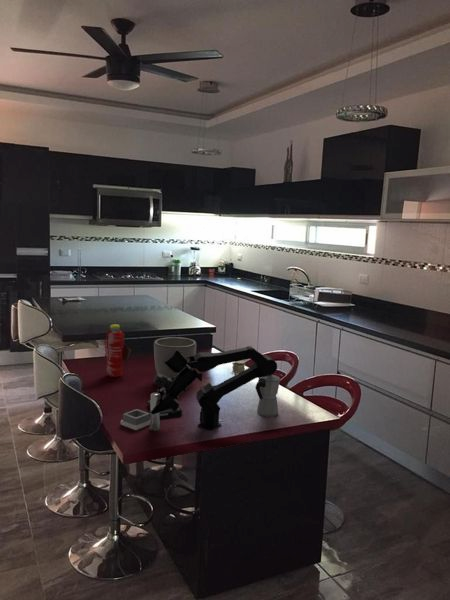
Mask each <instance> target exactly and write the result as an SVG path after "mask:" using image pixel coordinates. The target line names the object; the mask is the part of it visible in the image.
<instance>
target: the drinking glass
mask: <svg viewBox="0 0 450 600" xmlns="http://www.w3.org/2000/svg"><path fill="white" fill-rule="evenodd" d="M150 400H151V404H150V409H149V413H150V425H149V430H150V431H152V430H153V432H155V431H159V430H160V426H161V425H160V424H161V423H160V422H161V421H160V420H161V418H160V412H158V413H156V414H151V411H152V410H153V408H154V407H155V406H156V405H157V403H158V402H159V400H160V394H159V393H158V392H152V393H150Z"/></svg>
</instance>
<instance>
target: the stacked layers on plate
mask: <svg viewBox="0 0 450 600" xmlns="http://www.w3.org/2000/svg"><path fill="white" fill-rule="evenodd" d="M231 363H232V372H236V373H237V374H239V373H240V372H242V371H244V370H246V369H245V367H246V364H245V363H246V362H245V360H241V361H236V362H231Z"/></svg>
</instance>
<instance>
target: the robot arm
mask: <svg viewBox="0 0 450 600" xmlns="http://www.w3.org/2000/svg"><path fill="white" fill-rule="evenodd" d="M241 360H243V361H245V360H251V361H252V362H253V363H252V364H251V366H250V367H247V368H246V369H245V370H244V371H242V372H240V373H237V374H235V375H233V376H231V377H229V378H228V379H225V380H224V381H222V382H220V383H218V384H216V385H212V384H211V383H210V382H209V383H207V384H206V385H204V386H201V387H200V389H198V390H197V392H196V395H195V399H196V401H197V403H198V405H199V407H200V412H199V423H197V427H200V428H203V429H207V430H210V431H212V430H215V429H216V428H218V427H220V426H222V423H220V412H221V411H220V410H221V407H220V406H219V404H218V403H219V402H220V401H221V399H222V397H224V396H225V395H228V394H230V393H232V392H233V391H235V390H238V389H239V388H240V387H243V386H244V385H247V384H248V383H249V382H252V381H253V380H255V379H259V377H266V376H268V375H271V374H272V375H274V374H275V373H277V369H278V363H277V361H275V359H273V358H272V357H270V355H266V354H262V353H261V352H259V351H258V350H256V349H255V348H254V347H253V346H251V345H247V346H246V347H240V348H236V349H230V350H226V351H220V352H208V351H207V352H205V351H203V352H201V351H200V352H196V354H195V356H189V357H184V356H183V355H182V354H181V353H180V352H179V350H178V349H176V350H175V351H173V352H171V353H170V354H168V355H167V356H166V357H165V358H164V360H163V363H164V364H165V365H166V366H167V367H168V368H169V369H171V370H172V371H173V372H174V373H176V372H177V373H179V372H180V373H179V374H178V375H177V376H176V377H175V376H172V377H171V378H169V377H167V376H165V375H162V374H160V373H157V372H156V373H155V375H154V377H153V380H152V381H153V384H154V385H155V386H158V388H157V393H159V394H160V400H159V402H158V403H157V405H156V406H155V407H154V408H153V410H152V411H151V414H156V413H158V412H161V411H164V410H167V409H172V410H173V411H176V410H177V409H178V408H179V407H180V403H179V402H178V401H179V400H178V399H179V396H180V395H181V394H182V393H183V392H184V393H186V392H187V391H188V390H187V389H188V387H190V385H191V384H192V383H194V381H196V379H198V381H199V382H203V373H205V372H208V371H210V370H213V369H215V368H216V367H218V366H222V365H225V364H230V363H234V362H236V361H241ZM186 364H188V365H189V366H190V367H191V368H190V367H188V366H187V365H186Z"/></svg>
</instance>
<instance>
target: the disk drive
mask: <svg viewBox="0 0 450 600" xmlns="http://www.w3.org/2000/svg"><path fill="white" fill-rule="evenodd" d="M150 404H151V399H149V400H148V401H147V405H148V406H147V407H148V409H149V408H150ZM174 416H175V417H181V416H183V410H182V408H181V407H180V406H179V408H178V409H177V410H176V411H173V410H172V409H167V410H164V411H161V412H160V419H166V418H165V417H167V418H173V417H174Z"/></svg>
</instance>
